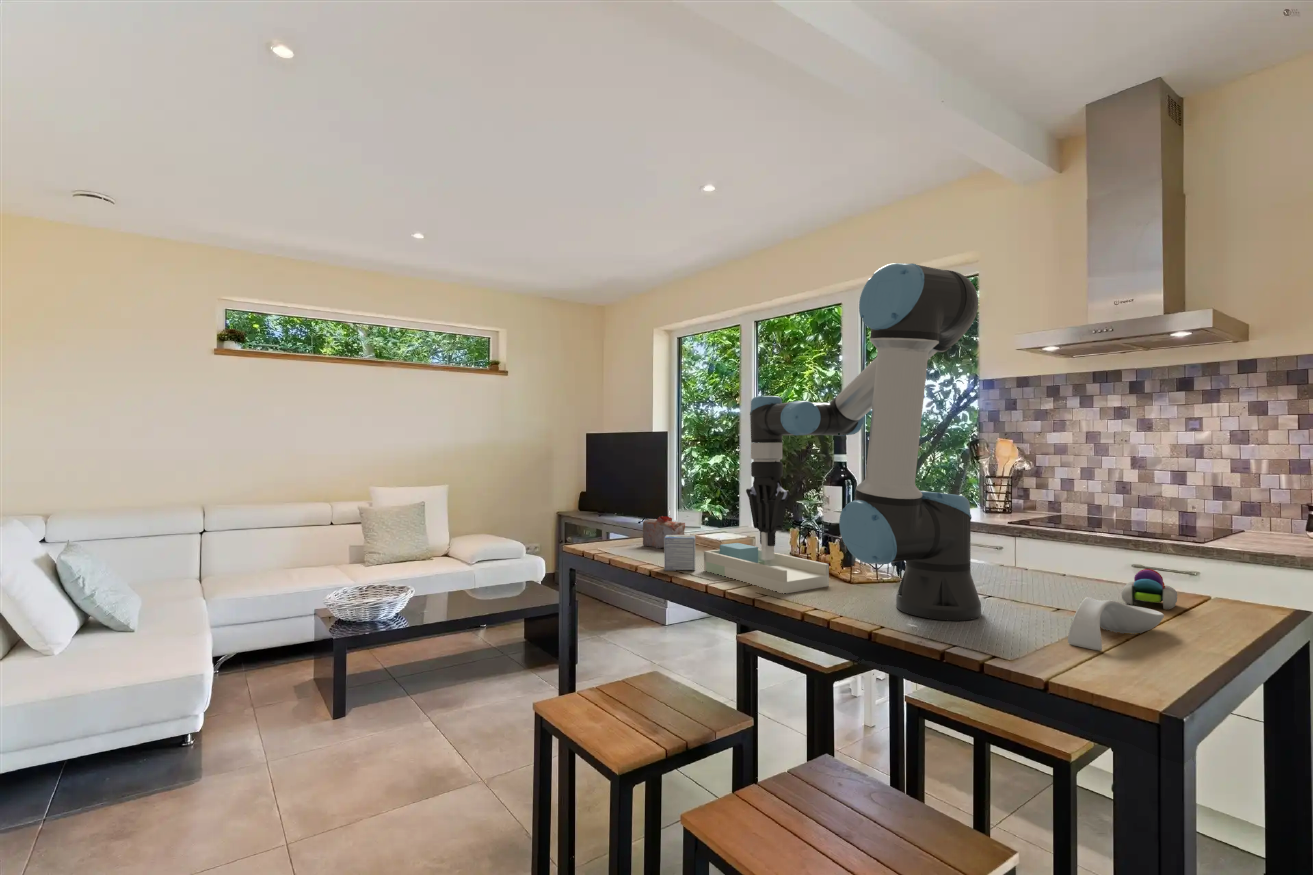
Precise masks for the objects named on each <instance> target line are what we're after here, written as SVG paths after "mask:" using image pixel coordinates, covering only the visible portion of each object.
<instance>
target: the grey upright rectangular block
mask: <svg viewBox="0 0 1313 875" xmlns="http://www.w3.org/2000/svg"><path fill="white" fill-rule="evenodd" d="M663 549H664V552H663V555H664V558H663V559H664V570H663V571H676V570H694V571H696V535H695V534H693V535H692V534H685V535H666V536H665V538H664V548H663ZM694 571H693V572H694Z"/></svg>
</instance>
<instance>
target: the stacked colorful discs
mask: <svg viewBox="0 0 1313 875" xmlns="http://www.w3.org/2000/svg"><path fill="white" fill-rule="evenodd" d="M1133 579H1134V581H1130V582H1128V583H1126V584H1124V587H1123V588H1121V599H1122V600H1123V602H1124V603H1126V605H1129V604H1130V606H1134V605H1133V604H1135V602H1136V601H1141V602H1148V603H1149V602H1150V603H1162V606H1163V607H1162V608H1163V610H1164V609H1168V610H1171V609H1173V608H1175V606H1176V604H1177V602H1178V591H1176V589H1175V588H1174V587H1172V586H1171V585H1170V586H1169V585H1165V583H1164V578H1163V576H1162V575H1161V573H1160V572H1158V571H1156V570H1154V569H1152V568H1143V569H1141V570H1139V571H1138V572H1137V573H1136V574H1134V577H1133Z"/></svg>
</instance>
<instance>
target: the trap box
mask: <svg viewBox="0 0 1313 875" xmlns="http://www.w3.org/2000/svg"><path fill="white" fill-rule="evenodd" d="M704 570H705V571H704ZM703 571H704V572H706V571H707V572H706V573H710V572H712V573H711V574H713V573H714V574H713V575H717V574H719V575H718V576H720V575H722V576H721V577H724V576H726V577H725V578H727V577H729V578H728V579H730V578H733V579H732V580H734V579H736V580H735V581H737V580H740V581H739V582H741V581H743V582H742V583H744V582H748V583H750V584H749V585H751V584H752V585H751V586H754V585H757V586H756V587H758V586H759V587H758V588H761V587H763V588H762V589H765V588H766V589H765V590H768V589H770V590H769V591H772V590H773V591H772V592H775V591H777V592H776V593H778V594H782V593H783V595H785V594H784V593H786V594H791V593H797V592H802V591H807V590H808V591H809V590H814V589H820V588H825V587H829V586H830V574H829V573H830V572H829V571H830V565H829V563H825V562H820V561H817V560H810V559H806V558H803V557H802V558H801V557H797V556H792V555H787V554H783V553H778V552H775V551H774V559H771V560H762V555H761V548H758V563H755V562H751V561H746V560H742V559H738V558H734V557H730V556H726V555H722V554H720V548H719V549H711V550H703ZM748 583H747V584H748Z"/></svg>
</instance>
